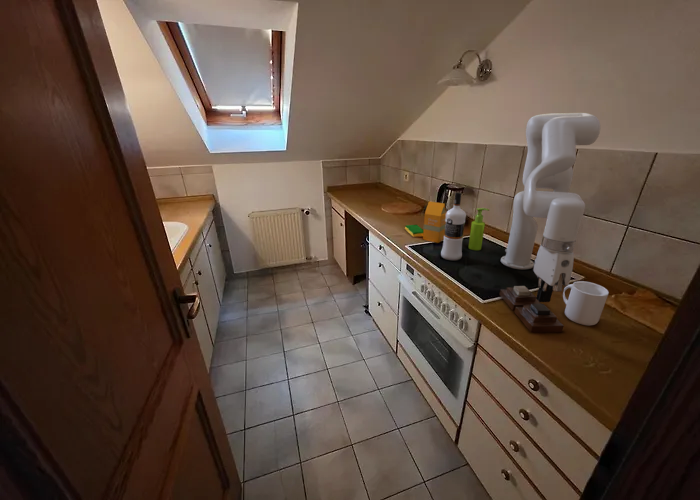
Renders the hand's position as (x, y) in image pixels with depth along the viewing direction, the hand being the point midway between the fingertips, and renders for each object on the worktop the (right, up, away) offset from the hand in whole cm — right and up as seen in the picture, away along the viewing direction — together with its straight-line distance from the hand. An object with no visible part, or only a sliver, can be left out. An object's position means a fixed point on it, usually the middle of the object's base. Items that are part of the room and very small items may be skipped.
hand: (542, 300), depth 89 cm
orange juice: (-13, +21, +70) cm, 74 cm away
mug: (+14, -6, +6) cm, 17 cm away
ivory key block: (+1, -3, +13) cm, 14 cm away
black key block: (0, -7, +3) cm, 8 cm away
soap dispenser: (+4, +16, +57) cm, 60 cm away
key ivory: (0, 0, +12) cm, 12 cm away
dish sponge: (-21, +25, +81) cm, 87 cm away
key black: (0, -4, +2) cm, 4 cm away
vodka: (-11, +12, +49) cm, 51 cm away
